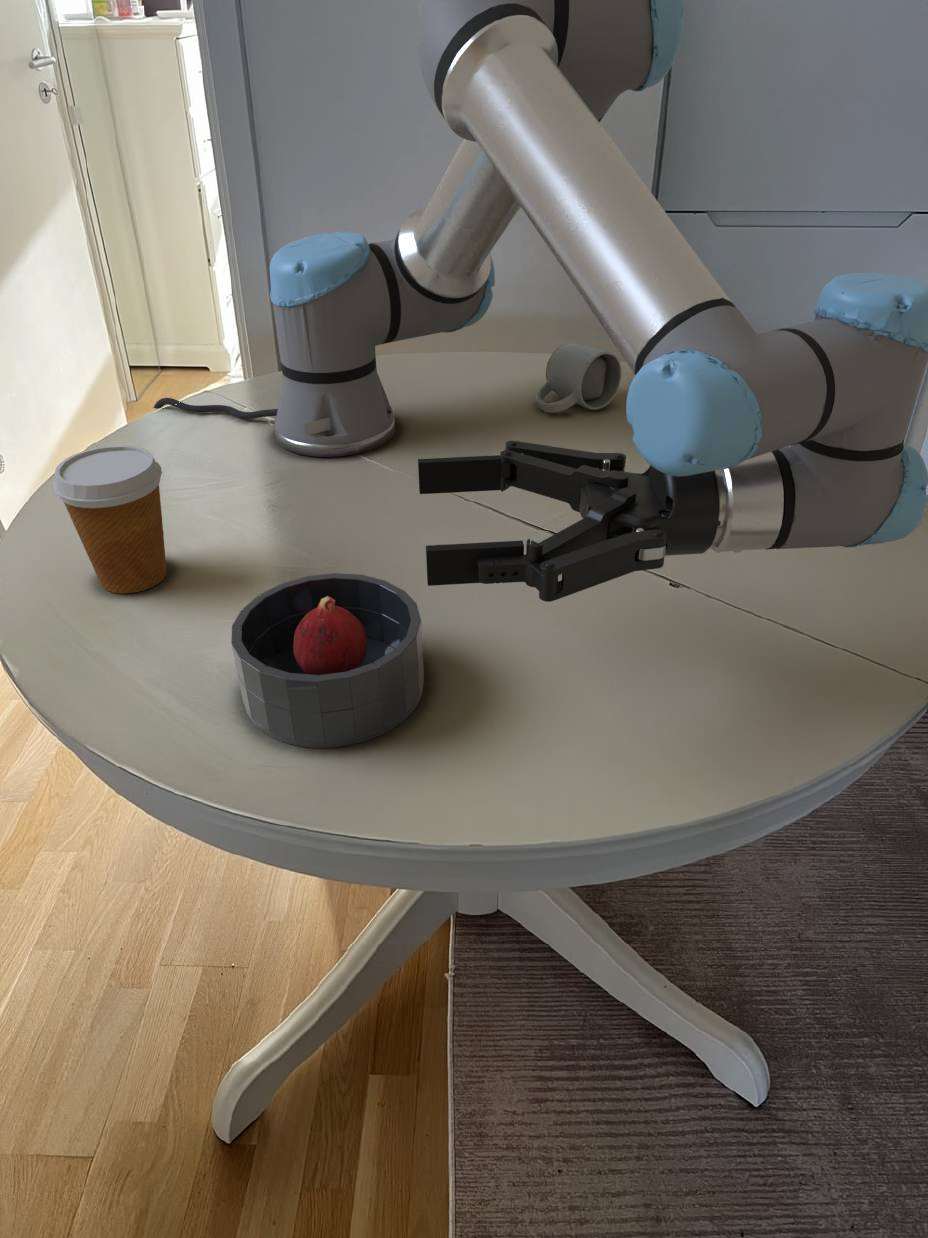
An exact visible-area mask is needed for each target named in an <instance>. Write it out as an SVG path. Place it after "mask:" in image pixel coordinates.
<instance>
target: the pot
mask: <svg viewBox="0 0 928 1238" xmlns="http://www.w3.org/2000/svg"><path fill="white" fill-rule="evenodd" d="M327 596H329V597H331V598H333V599H334V600H335V604H334V605H335V606H338V607H341V608H344V609H346V610H348V611H349V612H350V613H352V614H353V615H354V616H355V617H356V618H357V619H358V620H359V621H360V622H361V624H362V625H363V627H364V629H365V634H366V640H367V653H366V656H365V658H364V660H363V662H362V664H361V666H360V667H359V668H356V669H353V670H350V671H347V672H339V673H331V674H323V675H311V674H305V672H304V671H303V670H302V669H301V668H300V666H299V664H298V663H297V661H296V659H295V656H294V653H293V644H294V635H295V630H296V628H297V626H298V625H299V623H300V622H301V620H302V619H303V618H304V616H305V615H306V614H307V613H309V612H310V611H312V610H313V609H315V608H317V607H318V605H319V603H320V601H321V599H322V598H325V597H327ZM230 637H231V640H230V641H231V648H232V653H233V658H234V664H235V667H236V668H235V669H236V673H237V679H238V685H239V690H240V695H241V699H242V703H243V705H244V708H245V711H246V714H247V716H248V717H249V719H250V720H251V722H252V723H253V724H254V726H256V727H257V728H258V729H259V730H260V731H261V732H263V733H264V734H266V736H269V737H270V738H272V739H275V740H276V741H279V742H282V743H285V744H288V745H291V746H297V747H302V748H311V749H331V748H341V747H342V748H343V747H348V746H352V745H356V744H360V743H365V742H367V741H370V740H373V739H376V738H378V737H380V736H383V735H384V734H386V733H388V732H390V731H392V730H393V729H395V728H396V727H397V726H399V725H401V724H402V723H403V722H404V721H405V720H406V719H407V718H408V717H409V716H410V715H411V714H412V713H413V711H414V710H415V709H417V706H418V705H419V703H420V701H421V697H422V695H423V691H424V681H425V670H424V669H425V668H424V650H423V647H424V646H423V629H422V618H421V614H420V611H419V607H418V604H417V602H416V601H415V600H414V599H413V598H412V597H411V596H410V595H409V594H408V592H407V591H405V590H404V589H402V588H400V587H398V586H396V585H394V584H392V583H390V582H388V581H387V580H386V579H385V580H384V579H381V578H377V577H373V576H369V575H364V574H358V573H357V574H356V573H340V572H339V573H338V572H337V573H335V572H333V573H324V574H314V575H308V576H307V575H306V576H303V577H300V578H296V579H293V580H290V581H286V582H282V583H279V584H278V585H276V586H273V587H271V588H269V589H267V590H265V591H263V592H262V593H260V594H258V595H257V596H256V597H254V598H253V599H252V600H250V602H248V603H247V604H246V605H245V606H244V607H242V608H241V610H240V611H239V613H238V615H237V616H236V618H235V620H234V621H233V623H232V625H231V636H230Z"/></svg>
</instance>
